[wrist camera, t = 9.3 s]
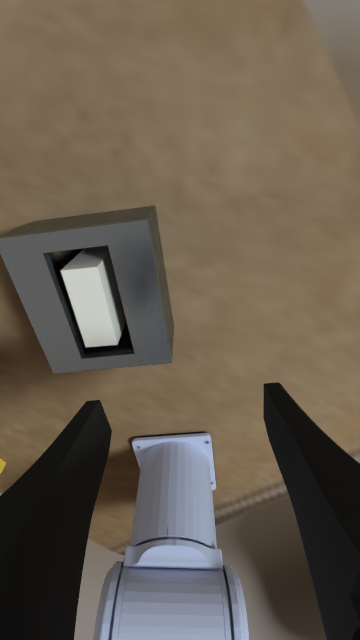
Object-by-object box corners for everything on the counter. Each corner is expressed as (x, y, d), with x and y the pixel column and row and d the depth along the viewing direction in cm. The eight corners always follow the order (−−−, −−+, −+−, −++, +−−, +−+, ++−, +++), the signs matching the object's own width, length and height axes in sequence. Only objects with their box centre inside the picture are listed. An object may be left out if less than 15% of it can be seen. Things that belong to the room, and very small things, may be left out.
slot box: (173, 326, 23) (171, 363, 19) (75, 336, 23) (53, 373, 19) (155, 205, 18) (147, 219, 14) (34, 221, 19) (-7, 239, 15)
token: (130, 307, 22) (117, 344, 18) (105, 309, 22) (85, 347, 18) (116, 241, 19) (97, 266, 15) (87, 245, 20) (60, 270, 15)
